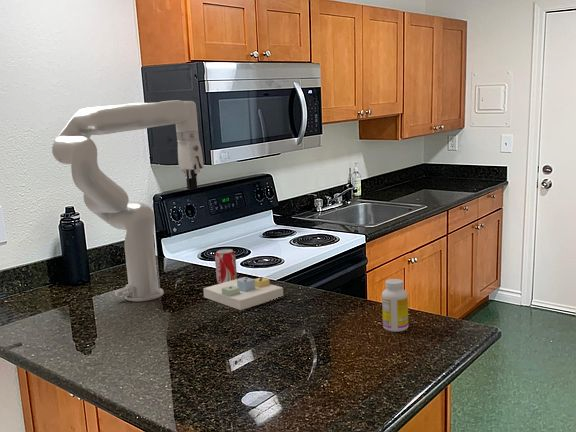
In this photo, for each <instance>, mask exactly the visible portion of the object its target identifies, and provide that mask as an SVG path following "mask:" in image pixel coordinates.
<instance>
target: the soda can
mask: <svg viewBox="0 0 576 432" xmlns="http://www.w3.org/2000/svg"><path fill="white" fill-rule="evenodd" d="M214 258H215V259H214V261H215V262H214V263H215V272H216V273H215V275H216V283H217V284H221V283H224V282H228V281H232V280H235V279H238V276H237V275H238V271H237V261H236V260H237V259H236V254H235V252H234V250H233V249H231V248H224V249H223V248H221V249H219V250H216V254H215V255H214Z"/></svg>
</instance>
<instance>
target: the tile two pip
mask: <svg viewBox="0 0 576 432" xmlns="http://www.w3.org/2000/svg"><path fill="white" fill-rule="evenodd" d="M250 278H251V277H248V278H244V279H240V280H237V287H239V288H240V291H243V292H247V291H251V290H254V289H255V280H254V279H255V278H251V279H250Z"/></svg>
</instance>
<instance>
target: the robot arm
mask: <svg viewBox="0 0 576 432" xmlns="http://www.w3.org/2000/svg"><path fill="white" fill-rule="evenodd" d="M169 125H175V131H176V132H175V133H176V141H177V160H178V162H177V163H178V167H179V169H181V172H182V173H184V177H185V178H186V179H185V180H186V181H185V182H186V188H187V190H197V189H198V174H200V173H201V169H203V168H204V166H205V165H204V164H205V163H204V158H203V151H202V146H201V142H200V137H199V127H198V126H199V125H198V112H197V104H196V102H195V101H193V100H180V99H175V100H174V99H173V100H172V99H171V100H165V101H159V102H134V103H132V102H131V103H123V104H122V103H121V104H114V105H113V104H112V105H111V104H110V105H103V106H92V107H84V108H81V109H79V110H77V112H75V113H74V114H73V116H72V117H71V118H70V120H69V121H68V122H67V124H66V125H65V126H64V127H63V129H62V130H61V131H60V133H58V135H57V137H56V138H55V140H54V142H53V143H52V148H51V150H52V151H51V153H52V156H53V157H54V159H55V160H56V161H57V162H58V163H61V164H62V165H63V164H64V165H70V168H71V169H70V170H71V171H70V172H71V177H72V181H73V184H74V185H75V186H76V188H77V189H78V190H79V191H81V192H82V193H83V203H84V204H85V206H86V207H87V209H88V210H89V211H90V212H92V213H93V214H95V215H96V216H97V217H98V218H100V219H101V220H103V221H104V222H105V223H107V224H108V225H109V226H111V227H113V228H115V229H118V230H122V231H126V233H125V238H124V255H125V264H126V265H125V267H126V274H127V281H128V282H127V283H128V284H125V287H123V288H122V289H117V290H114V295H115V296H116V297H119V296H122V297H124V299H125V300H126V301H129V302H146V301H147V302H148V301H152V300H156V299H158V298H161V297H162V296H163V295H164V294H165V293H164V289H163V288H161V287H159V280H158V279H159V278H158V272H157V259H156V250H155V248H156V247H155V239H154V237H155V236H154V230H155V213H154V211H153V209H152V208H151V207H150V206H149V205H148V204H146V203H144V202H137V201H136V202H135V201H129V196H128V194H127V192H126V190H124V188H123V187H121V185H119V184H117V183H116V182H115V181H114V180H112V179H111V178H110V177H109V176H107V175H106V173H104V172H103V171H102V170H101V169H100V167H99V163H98V148H97V145H96V143H95V142H94V140H92V139H91V137H92V136H102V135H103V136H104V135H109V134H110V135H111V134H116V133H123V132H129V131H137V130H138V131H139V130H146V129H149V128H154V127H155V128H156V127H163V126H169Z"/></svg>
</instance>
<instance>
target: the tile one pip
mask: <svg viewBox="0 0 576 432" xmlns="http://www.w3.org/2000/svg"><path fill="white" fill-rule="evenodd" d="M222 294H223V295H226V296H229V297H230V296H234V295H237V294H240V288H239V287H236V286H228V287H225V288H222Z"/></svg>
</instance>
